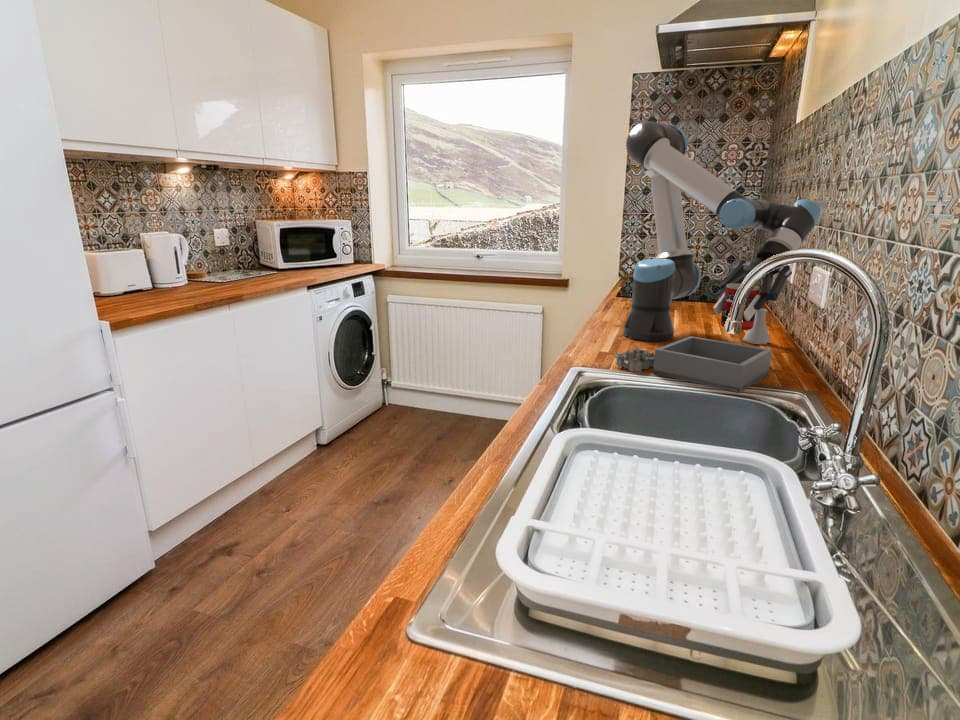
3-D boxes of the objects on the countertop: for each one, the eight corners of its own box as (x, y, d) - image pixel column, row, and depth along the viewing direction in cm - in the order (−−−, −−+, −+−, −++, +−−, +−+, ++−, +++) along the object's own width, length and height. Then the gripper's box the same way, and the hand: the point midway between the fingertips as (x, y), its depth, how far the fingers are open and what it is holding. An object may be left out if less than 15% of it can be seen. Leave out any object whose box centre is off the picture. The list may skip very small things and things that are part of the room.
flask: (754, 345, 159) (759, 312, 156) (737, 340, 166) (742, 307, 163) (775, 344, 160) (780, 311, 158) (757, 339, 167) (762, 307, 164)
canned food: (721, 322, 148) (728, 282, 145) (754, 326, 144) (761, 285, 141) (718, 327, 142) (724, 285, 139) (751, 331, 138) (759, 288, 135)
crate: (687, 358, 144) (690, 336, 143) (768, 373, 131) (772, 349, 130) (652, 373, 130) (655, 349, 129) (739, 392, 117) (743, 366, 116)
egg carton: (635, 374, 131) (636, 357, 130) (610, 366, 137) (611, 351, 136) (661, 366, 137) (662, 350, 136) (636, 359, 143) (637, 344, 142)
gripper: (822, 263, 137) (772, 331, 134) (746, 255, 154) (701, 315, 151) (814, 242, 133) (763, 312, 130) (738, 236, 150) (691, 298, 147)
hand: (730, 314), depth 140 cm, fingers closed on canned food, 8 cm apart
